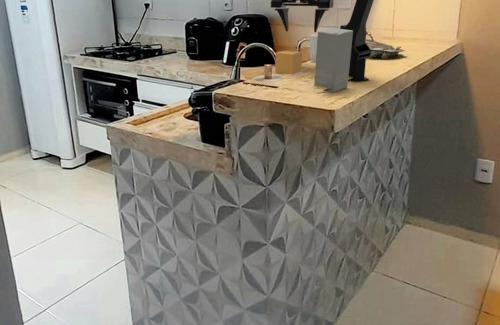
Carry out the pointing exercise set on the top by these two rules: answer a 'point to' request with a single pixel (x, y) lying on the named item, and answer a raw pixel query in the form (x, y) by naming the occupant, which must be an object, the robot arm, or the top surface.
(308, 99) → the top surface
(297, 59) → the tan wooden cube
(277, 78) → the board
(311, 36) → the white cup
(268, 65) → the pigtail post
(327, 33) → the skincare box
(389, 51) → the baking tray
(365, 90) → the top surface
